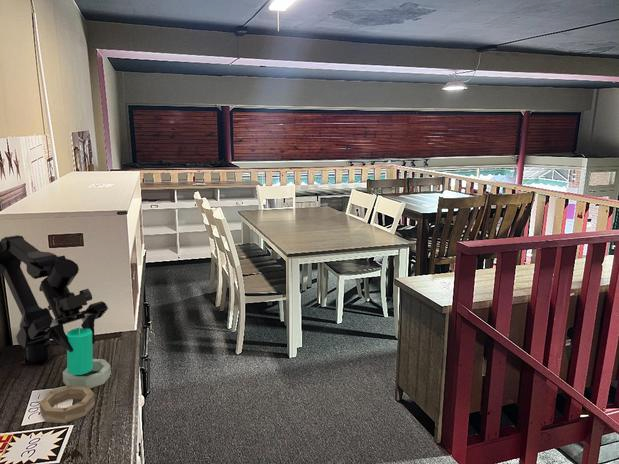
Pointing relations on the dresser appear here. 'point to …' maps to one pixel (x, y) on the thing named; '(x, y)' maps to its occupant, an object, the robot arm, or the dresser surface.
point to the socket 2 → (67, 413)
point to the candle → (80, 351)
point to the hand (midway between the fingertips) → (83, 347)
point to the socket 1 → (92, 379)
